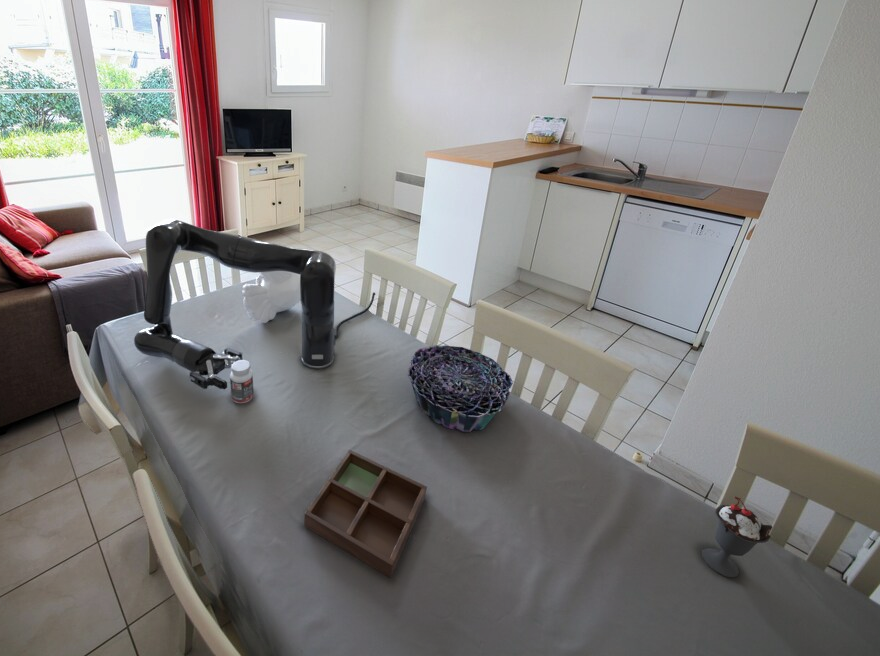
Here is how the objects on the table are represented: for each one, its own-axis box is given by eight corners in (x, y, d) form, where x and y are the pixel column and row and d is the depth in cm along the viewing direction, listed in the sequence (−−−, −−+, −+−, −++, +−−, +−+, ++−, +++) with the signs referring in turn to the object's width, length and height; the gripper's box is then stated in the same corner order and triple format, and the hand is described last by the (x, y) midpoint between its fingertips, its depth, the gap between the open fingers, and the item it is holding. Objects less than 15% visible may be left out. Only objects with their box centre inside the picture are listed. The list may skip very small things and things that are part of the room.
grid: (348, 460, 94) (349, 449, 93) (425, 498, 86) (427, 486, 84) (304, 526, 80) (304, 513, 79) (390, 578, 72) (392, 565, 70)
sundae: (685, 545, 78) (715, 485, 72) (719, 542, 78) (751, 483, 73) (719, 584, 72) (754, 523, 66) (755, 581, 72) (794, 520, 67)
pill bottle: (248, 405, 109) (246, 374, 105) (228, 402, 110) (225, 370, 106) (256, 391, 114) (255, 360, 110) (236, 388, 115) (234, 357, 111)
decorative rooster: (289, 275, 166) (249, 234, 151) (317, 280, 155) (277, 237, 140) (254, 330, 157) (207, 293, 142) (282, 340, 146) (234, 301, 131)
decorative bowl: (504, 387, 120) (510, 356, 117) (510, 456, 95) (518, 419, 92) (413, 367, 128) (416, 337, 125) (396, 426, 103) (400, 391, 100)
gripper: (170, 358, 111) (216, 379, 103) (211, 332, 122) (255, 350, 115) (174, 381, 114) (219, 404, 106) (213, 354, 125) (256, 373, 117)
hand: (237, 376), depth 110 cm, fingers open, 8 cm apart
